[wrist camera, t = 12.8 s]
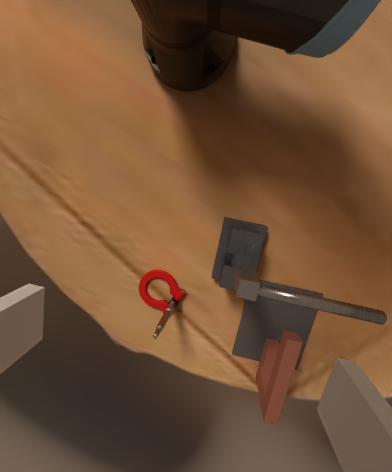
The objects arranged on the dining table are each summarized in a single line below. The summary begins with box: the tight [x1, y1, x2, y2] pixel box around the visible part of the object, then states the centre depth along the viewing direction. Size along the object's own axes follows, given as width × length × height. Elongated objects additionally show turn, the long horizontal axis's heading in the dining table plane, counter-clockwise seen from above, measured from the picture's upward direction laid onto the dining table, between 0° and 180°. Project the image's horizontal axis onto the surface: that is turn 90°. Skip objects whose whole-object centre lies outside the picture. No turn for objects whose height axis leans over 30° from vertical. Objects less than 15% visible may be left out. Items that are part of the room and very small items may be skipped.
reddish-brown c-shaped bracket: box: [256, 331, 303, 424], centre depth 42 cm, size 10×2×17 cm
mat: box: [232, 280, 323, 370], centre depth 46 cm, size 18×14×1 cm
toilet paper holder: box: [212, 217, 387, 324], centre depth 35 cm, size 12×20×18 cm, turn 79°
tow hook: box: [139, 270, 186, 339], centre depth 42 cm, size 8×13×9 cm
